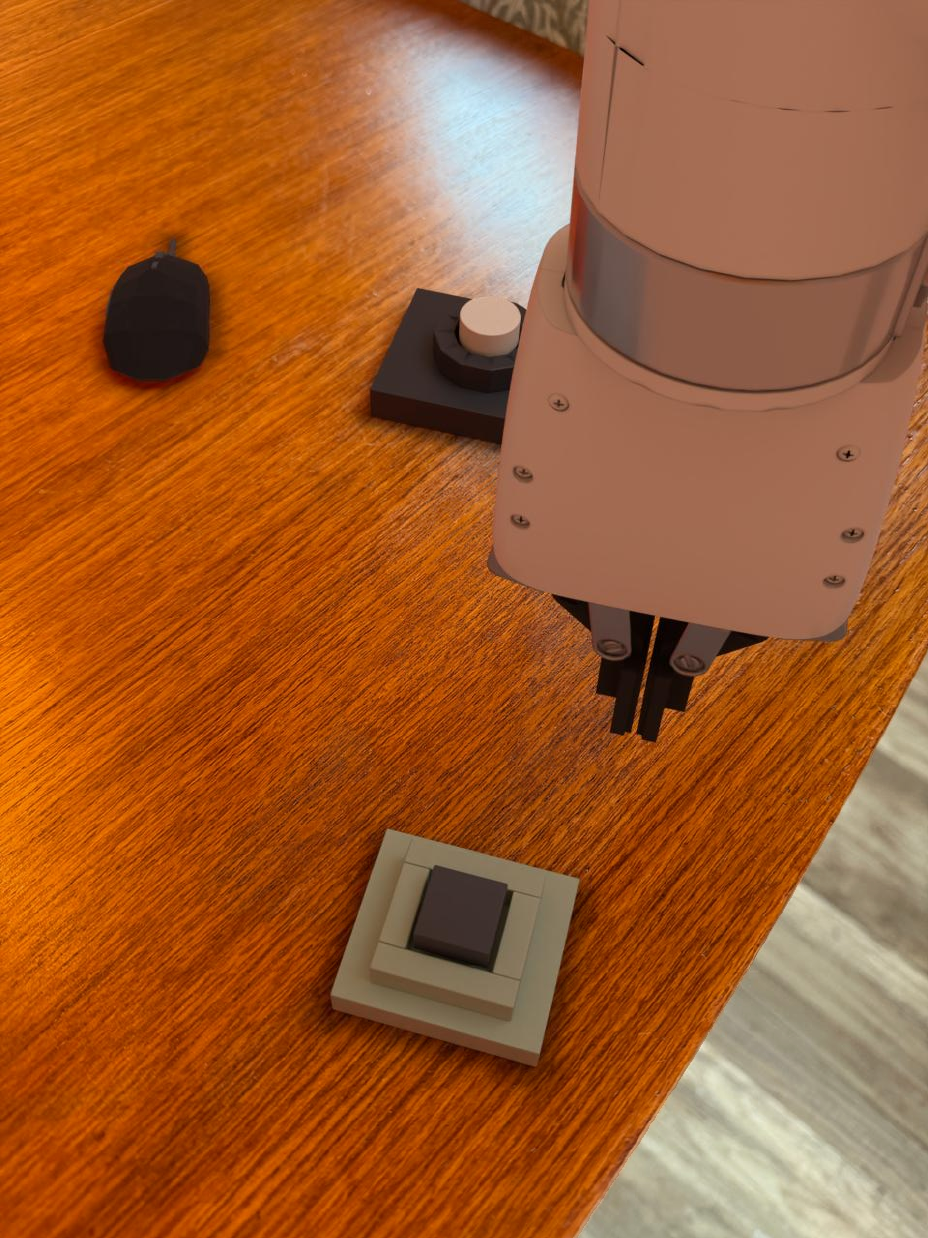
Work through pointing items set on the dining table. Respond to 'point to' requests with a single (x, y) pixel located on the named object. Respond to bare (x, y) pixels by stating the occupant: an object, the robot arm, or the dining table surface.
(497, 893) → the key
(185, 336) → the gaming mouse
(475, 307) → the beige button cap
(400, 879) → the beige stepped square frame
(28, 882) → the dining table surface
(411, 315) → the push button
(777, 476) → the robot arm
